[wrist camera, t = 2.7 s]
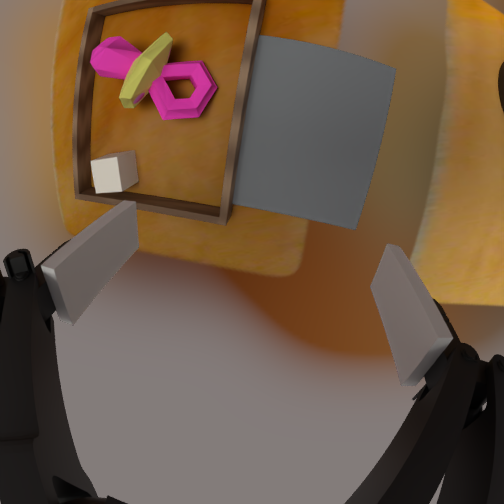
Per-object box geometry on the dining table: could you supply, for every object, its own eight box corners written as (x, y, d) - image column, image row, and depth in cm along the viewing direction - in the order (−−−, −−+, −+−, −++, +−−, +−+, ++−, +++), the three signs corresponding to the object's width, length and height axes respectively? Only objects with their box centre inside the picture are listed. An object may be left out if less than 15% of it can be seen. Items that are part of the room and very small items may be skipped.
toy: (184, 139, 36) (193, 129, 27) (80, 91, 28) (59, 70, 19) (218, 82, 35) (239, 59, 26) (118, 36, 27) (111, 3, 18)
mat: (259, 35, 27) (259, 35, 27) (395, 69, 26) (396, 68, 26) (232, 202, 39) (232, 203, 39) (355, 228, 38) (355, 230, 38)
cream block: (109, 153, 37) (90, 161, 33) (135, 150, 37) (117, 156, 32) (113, 183, 40) (96, 193, 36) (139, 181, 39) (122, 191, 35)
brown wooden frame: (101, 12, 25) (88, 8, 22) (266, -1, 24) (263, -10, 21) (87, 191, 41) (75, 198, 38) (231, 215, 40) (225, 225, 37)
